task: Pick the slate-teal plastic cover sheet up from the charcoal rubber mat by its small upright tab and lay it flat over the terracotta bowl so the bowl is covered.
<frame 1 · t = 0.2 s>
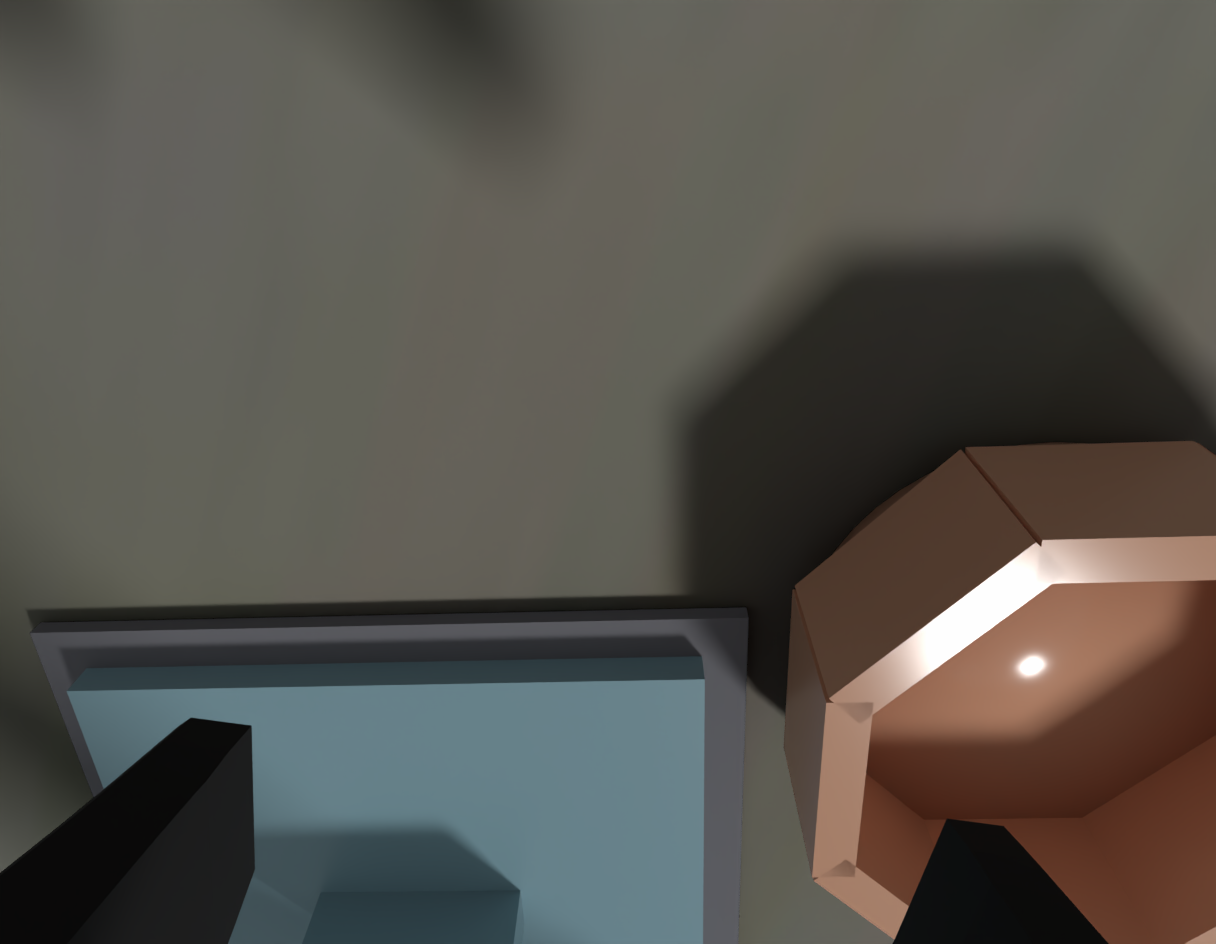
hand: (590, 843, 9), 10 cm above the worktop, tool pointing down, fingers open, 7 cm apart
cover sheet: (429, 881, 23), resting on mat
mat: (432, 868, 24), on the worktop
bowl: (1015, 639, 20), on the worktop
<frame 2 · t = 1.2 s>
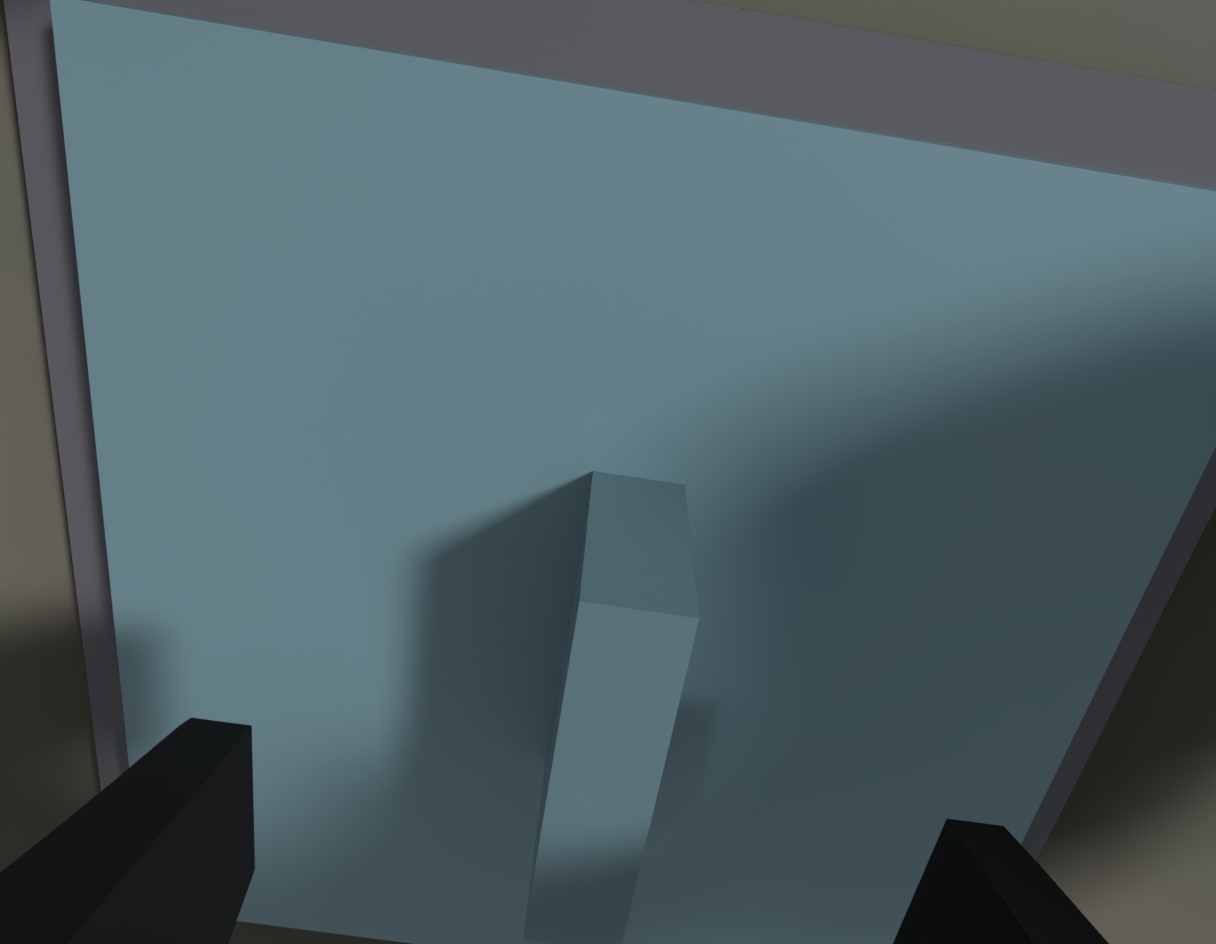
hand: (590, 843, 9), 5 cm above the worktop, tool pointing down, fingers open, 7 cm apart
cover sheet: (610, 603, 13), resting on mat
mat: (611, 588, 14), on the worktop
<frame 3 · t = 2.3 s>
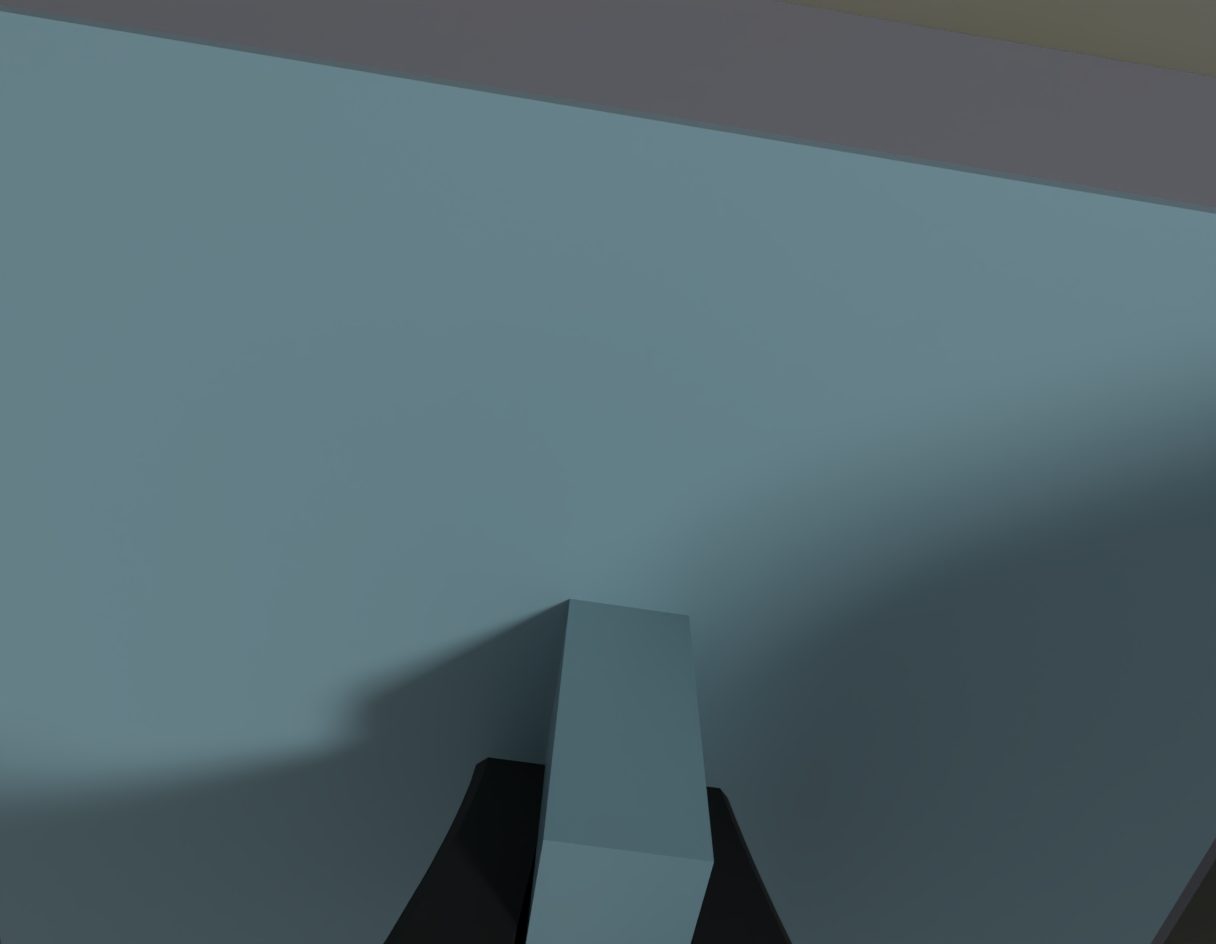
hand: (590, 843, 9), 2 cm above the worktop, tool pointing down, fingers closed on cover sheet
cover sheet: (595, 742, 11), resting on mat, touching gripper
mat: (596, 719, 11), on the worktop
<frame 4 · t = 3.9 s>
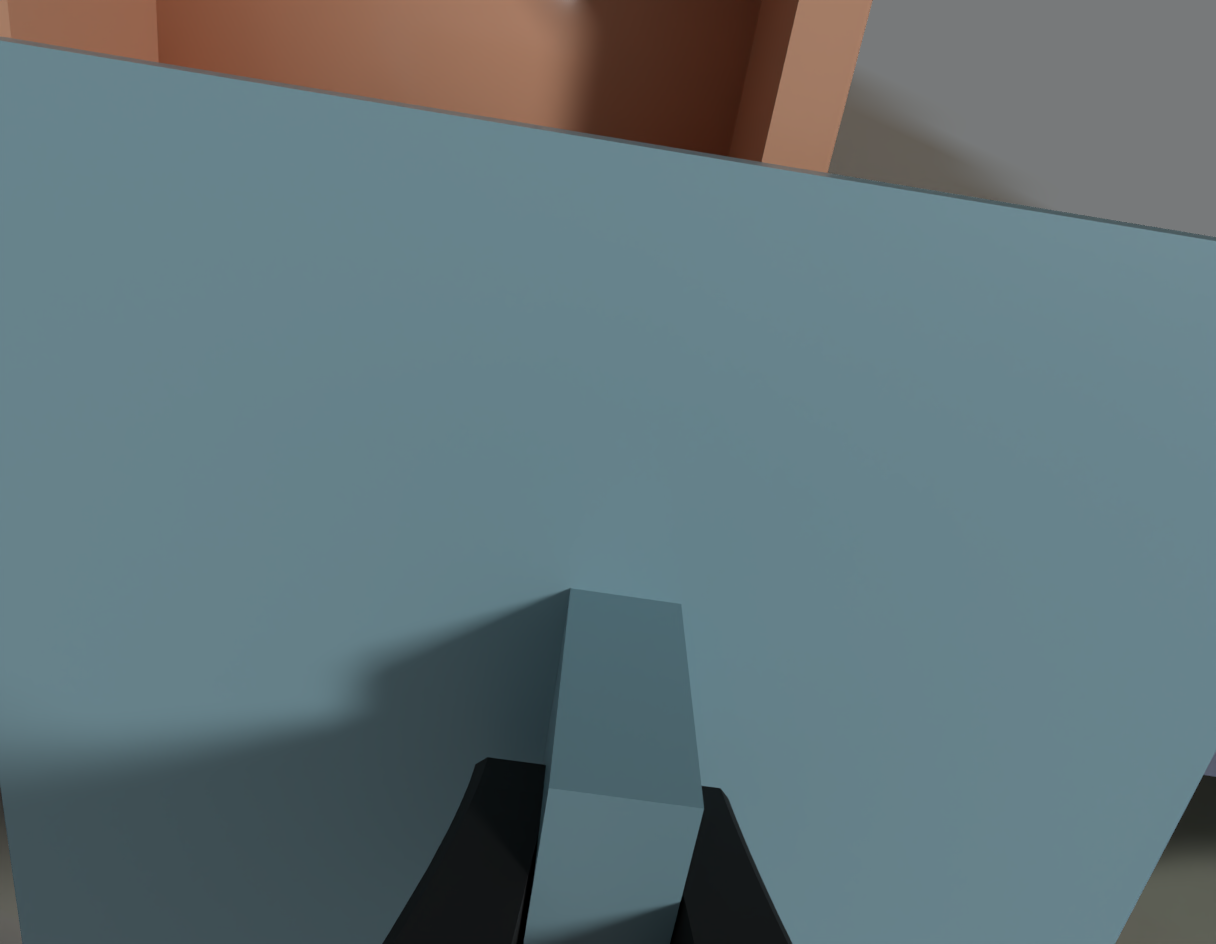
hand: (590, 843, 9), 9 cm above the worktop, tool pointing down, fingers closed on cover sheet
cover sheet: (594, 733, 11), point 7 cm above the worktop, touching gripper
bowl: (466, 20, 14), on the worktop
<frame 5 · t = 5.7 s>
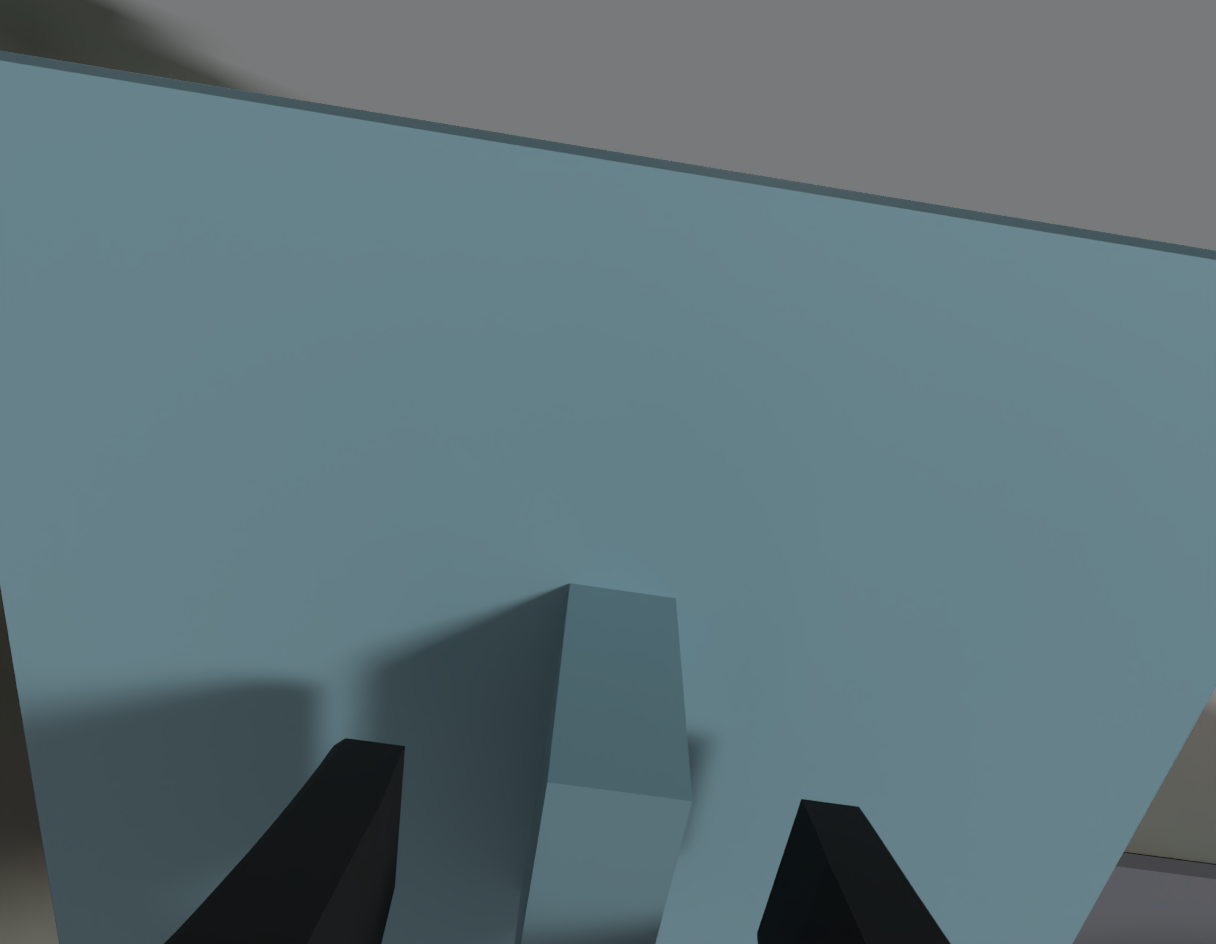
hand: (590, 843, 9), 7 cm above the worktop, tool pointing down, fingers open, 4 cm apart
cover sheet: (593, 715, 12), point 4 cm above the worktop, touching bowl
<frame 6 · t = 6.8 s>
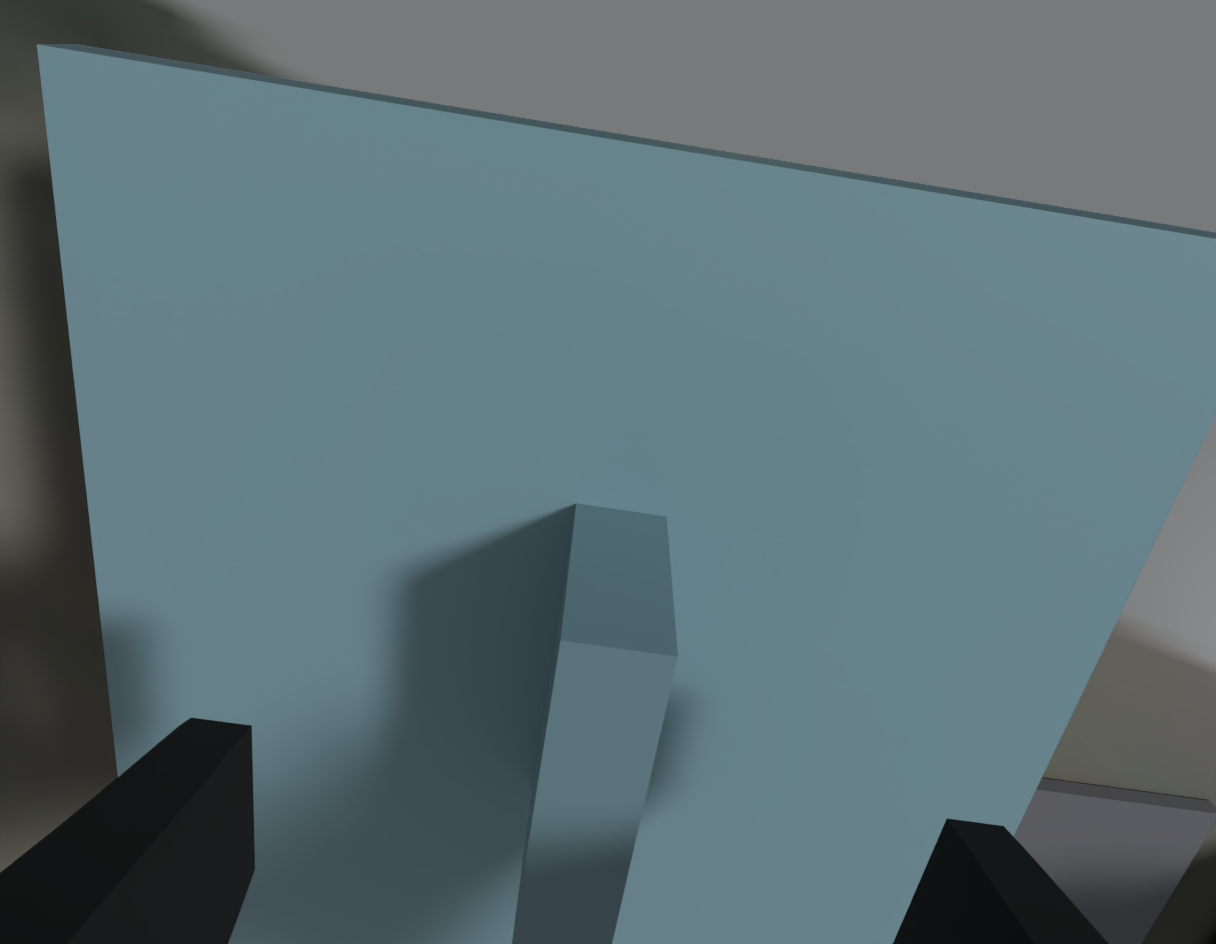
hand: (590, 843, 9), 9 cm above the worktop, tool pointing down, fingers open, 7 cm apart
cover sheet: (595, 629, 14), point 4 cm above the worktop, touching bowl
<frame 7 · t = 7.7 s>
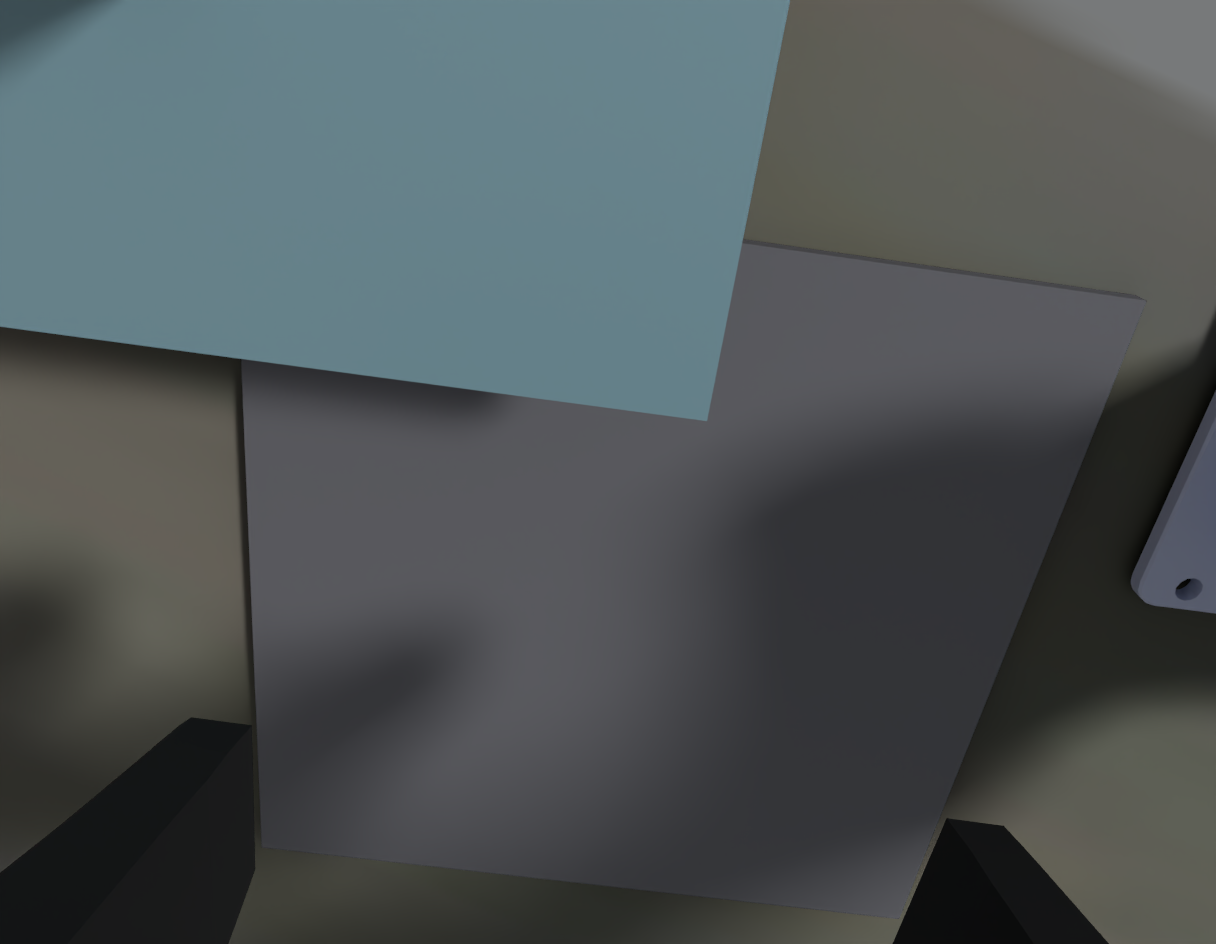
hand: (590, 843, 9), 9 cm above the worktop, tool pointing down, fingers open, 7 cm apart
mat: (631, 608, 19), on the worktop
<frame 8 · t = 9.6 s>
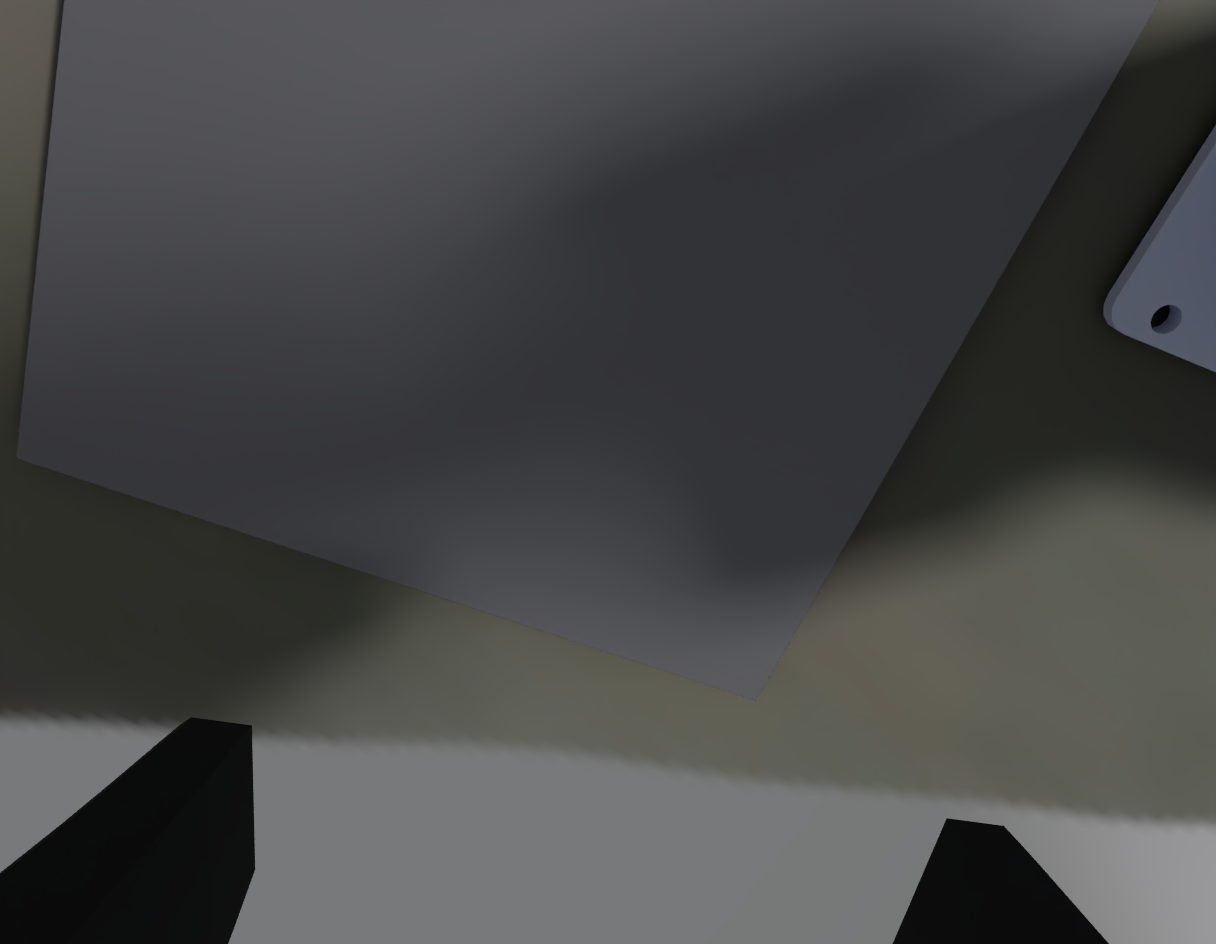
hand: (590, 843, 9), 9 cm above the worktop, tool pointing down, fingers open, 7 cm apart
mat: (532, 217, 16), on the worktop
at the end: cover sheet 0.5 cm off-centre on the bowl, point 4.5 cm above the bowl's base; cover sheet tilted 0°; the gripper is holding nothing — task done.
